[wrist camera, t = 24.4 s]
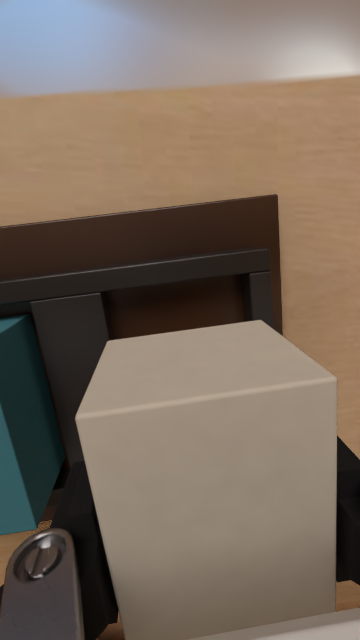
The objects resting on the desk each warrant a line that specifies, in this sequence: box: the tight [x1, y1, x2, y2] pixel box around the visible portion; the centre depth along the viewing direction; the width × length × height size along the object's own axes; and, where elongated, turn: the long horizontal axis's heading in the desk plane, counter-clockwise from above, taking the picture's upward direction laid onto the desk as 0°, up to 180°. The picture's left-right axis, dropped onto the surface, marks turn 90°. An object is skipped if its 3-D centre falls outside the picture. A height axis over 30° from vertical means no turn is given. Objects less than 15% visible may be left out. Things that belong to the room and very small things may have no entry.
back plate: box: [0, 194, 283, 522], centre depth 16 cm, size 16×20×3 cm
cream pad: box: [75, 320, 337, 640], centre depth 9 cm, size 8×5×4 cm, turn 7°
